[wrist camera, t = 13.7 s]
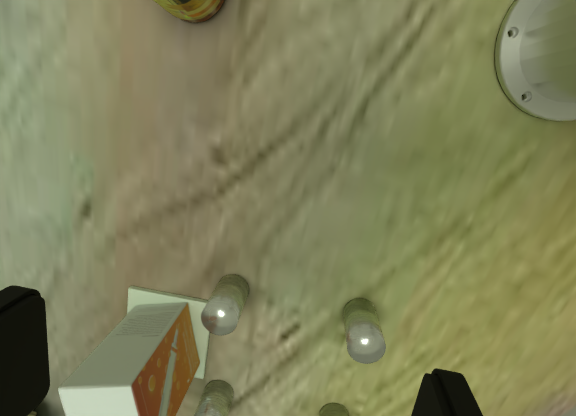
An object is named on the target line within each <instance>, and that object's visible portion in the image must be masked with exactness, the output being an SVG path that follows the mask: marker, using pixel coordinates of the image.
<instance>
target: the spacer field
mask: <svg viewBox="0 0 576 416" xmlns="http://www.w3.org/2000/svg"><path fill="white" fill-rule="evenodd" d="M248 294H249V286H248V283H247V282H246V280H245V279H244V278H242V277H241V276H239V275H235V274H229V275H226V276H224V277H223V278H222V279H221V280H220V281H219V283H218V285H217V286H216V288H215V290H214V291H213V293H212V295H211V297H210V298H209V300H208V302H207V304H206V305H205V307H204V309H203V311H202V313H201V321H202V324H203V326H204V327H205V328H206V329H207V330H208V331H209V332H211V333H213V334H215V335H226V334H229V333H231V332H232V331H233V330H234V329H235V328H236V326H237V323H238V320H239V318H240V315H241V312H242V310H243V307H244V304H245V302H246V299H247V296H248ZM343 316H344V324H345V332H346V341H347V349H348V353H349V355H350V356H351V357H352V358H353V359H354V360H355V361H357V362H360V363H365V364H368V363H373V362H376V361H378V360H379V359H380V358H381V357H382V356H383V355H384V353H385V349H386V346H385V341H384V338H383V334H382V331H381V327H380V324H379V320H378V317H377V313H376V310H375V307H374V305H373V304H372V303H371V302H370V301H368V300H366V299H362V298H357V299H353V300H351V301H349V302H348V303H347V304H346V305H345V307H344V310H343ZM232 398H233V389H232V387H231V386H230V385H229V384H228V383H226V382H225V381H222V380H213V381H211V382H209V383H208V384H207V385H206V387H205V390H204V392H203V395H202V397H201V400H200V402H199V405H198V407H197V409H196V412H195V414H194V416H227V415H228V412H229V409H230V405H231V402H232ZM319 416H349V413H348V411H347V409H346V408H345V407H344V406H342V405H340V404H337V403H330V404H327V405H325V406H323V407H322V408H321V410H320V413H319Z"/></svg>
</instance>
